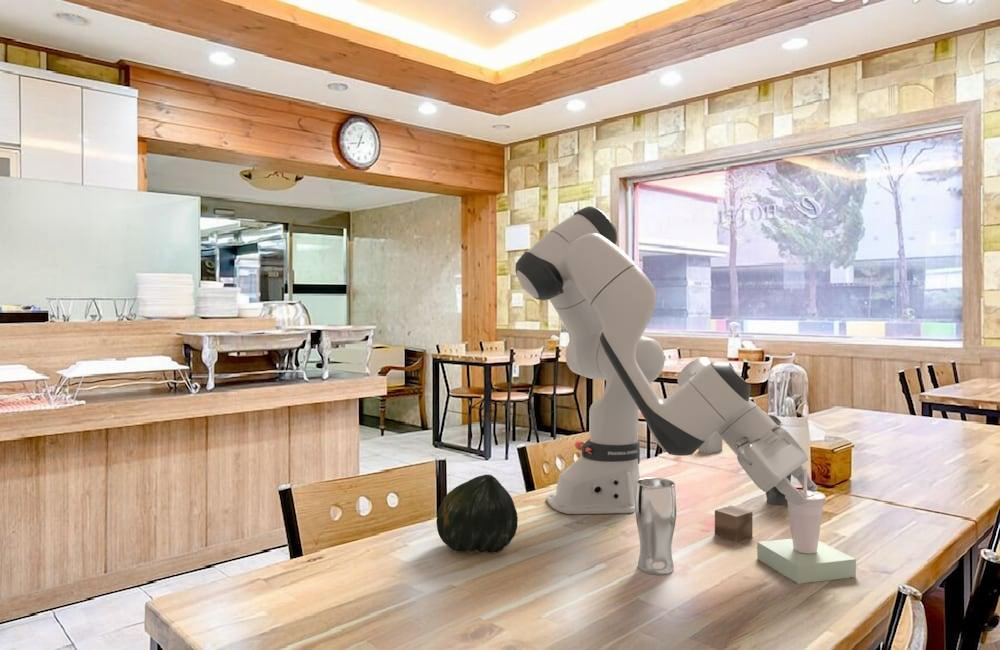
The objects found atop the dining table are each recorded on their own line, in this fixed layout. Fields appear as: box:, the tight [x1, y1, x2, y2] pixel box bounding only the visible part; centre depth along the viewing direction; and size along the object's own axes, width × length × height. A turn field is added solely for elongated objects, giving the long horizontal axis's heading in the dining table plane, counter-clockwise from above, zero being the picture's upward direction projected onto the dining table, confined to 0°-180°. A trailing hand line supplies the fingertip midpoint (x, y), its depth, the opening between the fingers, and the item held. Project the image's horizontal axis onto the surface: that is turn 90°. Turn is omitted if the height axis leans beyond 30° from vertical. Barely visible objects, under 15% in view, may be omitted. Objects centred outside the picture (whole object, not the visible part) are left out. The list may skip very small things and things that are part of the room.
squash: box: [436, 474, 519, 554], centre depth 124 cm, size 14×15×15 cm
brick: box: [714, 505, 754, 543], centre depth 130 cm, size 5×5×5 cm
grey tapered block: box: [697, 431, 723, 454], centre depth 204 cm, size 4×7×10 cm, turn 125°
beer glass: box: [634, 477, 678, 576], centre depth 114 cm, size 7×7×15 cm
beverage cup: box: [765, 474, 792, 506], centre depth 151 cm, size 7×7×20 cm
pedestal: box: [756, 538, 857, 584], centre depth 114 cm, size 11×11×3 cm
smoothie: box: [785, 467, 827, 554], centre depth 114 cm, size 6×6×14 cm
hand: (808, 497), depth 113 cm, fingers closed on smoothie, 6 cm apart
